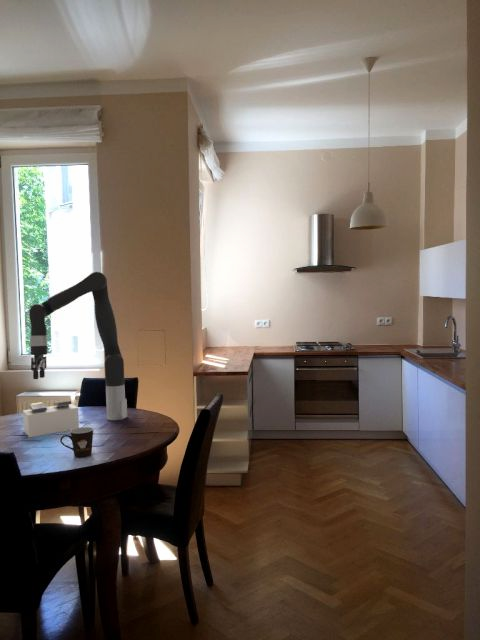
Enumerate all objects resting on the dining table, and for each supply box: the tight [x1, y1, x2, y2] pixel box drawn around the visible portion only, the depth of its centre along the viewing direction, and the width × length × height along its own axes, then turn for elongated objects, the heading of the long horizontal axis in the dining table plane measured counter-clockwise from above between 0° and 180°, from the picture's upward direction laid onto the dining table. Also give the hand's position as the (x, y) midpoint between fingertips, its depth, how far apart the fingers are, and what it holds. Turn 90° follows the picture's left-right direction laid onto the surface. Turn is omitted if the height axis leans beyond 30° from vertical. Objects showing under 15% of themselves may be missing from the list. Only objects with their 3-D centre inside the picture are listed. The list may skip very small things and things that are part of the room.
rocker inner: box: [53, 400, 72, 406], centre depth 225 cm, size 6×8×2 cm
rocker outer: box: [28, 401, 48, 412], centre depth 219 cm, size 6×8×2 cm
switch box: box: [22, 403, 80, 438], centre depth 223 cm, size 22×12×11 cm, turn 125°
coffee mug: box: [59, 426, 94, 459], centre depth 185 cm, size 12×9×10 cm
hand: (39, 378), depth 230 cm, fingers open, 8 cm apart
